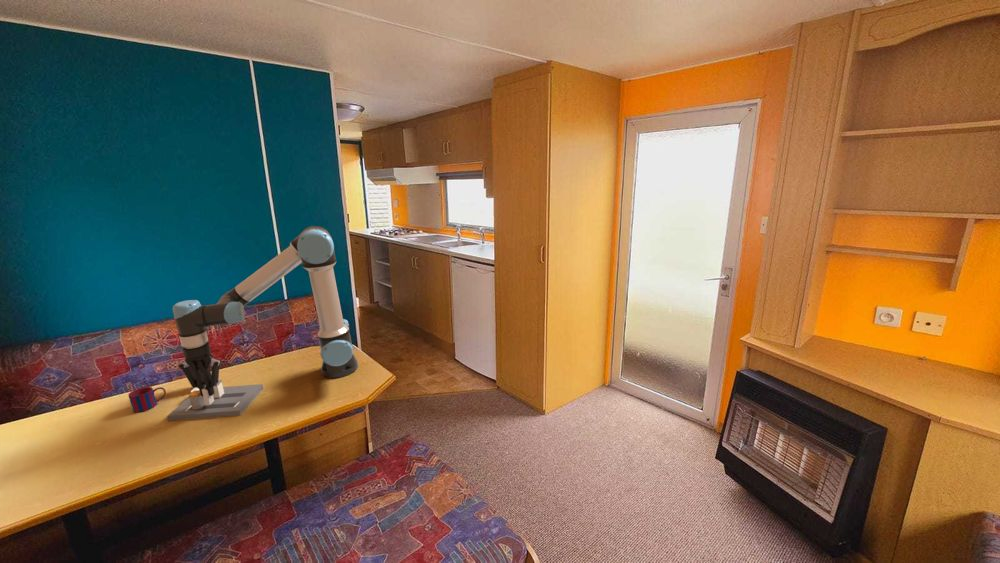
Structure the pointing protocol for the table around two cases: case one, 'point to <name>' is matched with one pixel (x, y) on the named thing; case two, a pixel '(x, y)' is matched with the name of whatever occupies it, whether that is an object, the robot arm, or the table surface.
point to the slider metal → (197, 400)
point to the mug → (144, 399)
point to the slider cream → (218, 390)
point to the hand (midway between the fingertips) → (209, 403)
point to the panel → (219, 404)
